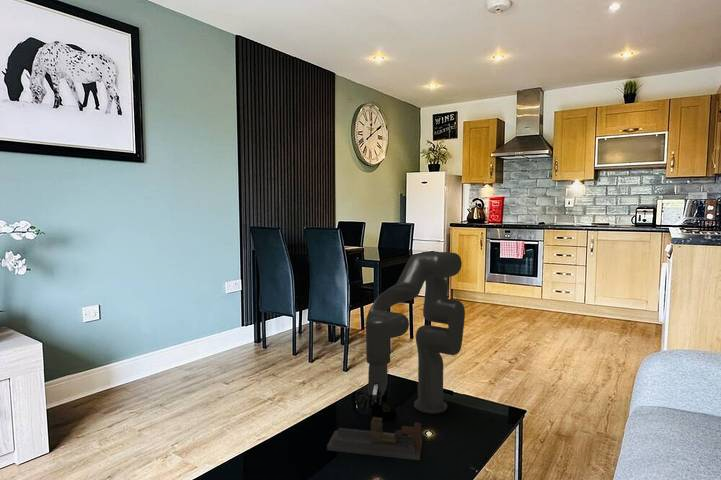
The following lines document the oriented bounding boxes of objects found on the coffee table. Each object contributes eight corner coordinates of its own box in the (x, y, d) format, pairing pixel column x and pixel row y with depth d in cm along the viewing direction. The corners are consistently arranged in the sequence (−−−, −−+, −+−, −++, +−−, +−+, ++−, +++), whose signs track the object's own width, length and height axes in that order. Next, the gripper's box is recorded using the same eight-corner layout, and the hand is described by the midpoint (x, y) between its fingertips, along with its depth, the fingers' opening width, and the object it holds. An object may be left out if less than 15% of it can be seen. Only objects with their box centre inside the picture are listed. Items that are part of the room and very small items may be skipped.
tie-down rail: (335, 434, 148) (335, 410, 148) (421, 443, 142) (421, 417, 142) (327, 450, 138) (326, 423, 138) (419, 460, 133) (419, 433, 132)
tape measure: (397, 421, 158) (397, 410, 158) (379, 423, 156) (379, 413, 156) (390, 412, 165) (390, 403, 165) (373, 415, 163) (373, 405, 163)
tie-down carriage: (373, 437, 143) (373, 416, 142) (408, 441, 141) (408, 419, 140) (370, 445, 138) (370, 423, 138) (407, 449, 136) (407, 427, 135)
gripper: (371, 346, 148) (372, 395, 149) (361, 366, 131) (362, 421, 133) (393, 347, 146) (394, 397, 148) (386, 367, 129) (387, 423, 131)
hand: (379, 408), depth 140 cm, fingers open, 9 cm apart
